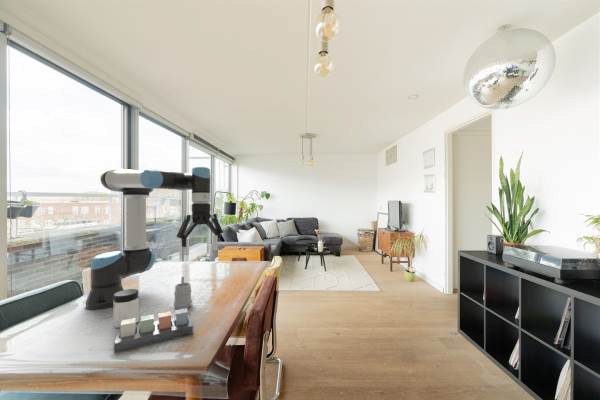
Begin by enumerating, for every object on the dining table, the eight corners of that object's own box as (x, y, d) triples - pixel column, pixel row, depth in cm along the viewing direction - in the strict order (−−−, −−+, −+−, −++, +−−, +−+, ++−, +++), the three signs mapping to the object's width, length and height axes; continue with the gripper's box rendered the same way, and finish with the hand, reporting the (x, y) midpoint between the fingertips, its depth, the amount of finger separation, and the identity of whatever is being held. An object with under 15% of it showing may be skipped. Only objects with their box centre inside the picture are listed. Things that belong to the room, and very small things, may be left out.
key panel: (118, 336, 90) (119, 328, 90) (189, 321, 101) (189, 314, 101) (114, 352, 80) (114, 343, 80) (192, 334, 92) (192, 326, 92)
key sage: (140, 329, 90) (140, 316, 90) (153, 326, 92) (153, 314, 92) (140, 334, 87) (140, 321, 87) (153, 331, 89) (153, 318, 89)
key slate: (175, 322, 96) (175, 310, 96) (186, 319, 98) (186, 308, 98) (175, 326, 92) (175, 314, 92) (187, 324, 94) (187, 312, 94)
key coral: (158, 325, 93) (158, 313, 93) (170, 323, 95) (170, 311, 95) (158, 330, 90) (158, 317, 90) (171, 327, 91) (171, 315, 92)
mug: (173, 311, 111) (173, 283, 112) (173, 301, 122) (173, 276, 122) (192, 307, 115) (192, 281, 115) (191, 299, 125) (191, 274, 126)
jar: (107, 329, 96) (108, 297, 96) (118, 319, 104) (118, 289, 104) (134, 326, 98) (134, 295, 98) (142, 317, 106) (142, 288, 106)
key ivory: (122, 333, 88) (122, 320, 88) (135, 330, 90) (135, 317, 90) (120, 338, 84) (120, 325, 84) (134, 335, 86) (135, 322, 86)
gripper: (176, 203, 98) (176, 258, 98) (230, 202, 118) (230, 248, 117) (167, 203, 103) (167, 255, 102) (220, 202, 122) (220, 247, 122)
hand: (201, 252), depth 110 cm, fingers open, 13 cm apart
